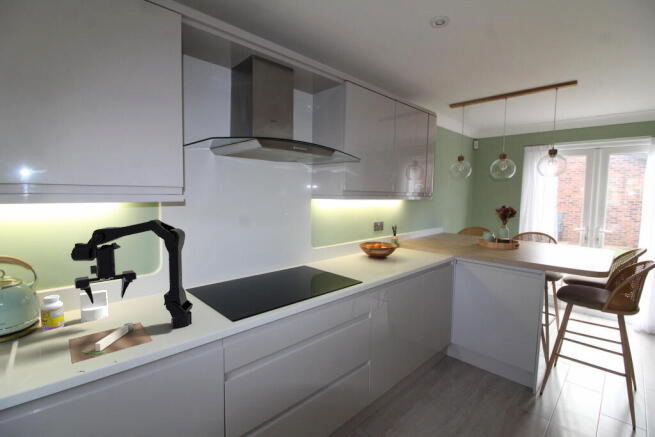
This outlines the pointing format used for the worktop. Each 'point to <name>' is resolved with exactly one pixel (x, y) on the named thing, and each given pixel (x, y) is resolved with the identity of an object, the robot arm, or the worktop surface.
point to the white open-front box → (94, 306)
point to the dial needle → (113, 336)
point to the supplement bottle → (52, 313)
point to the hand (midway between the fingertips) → (107, 300)
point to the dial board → (86, 349)
